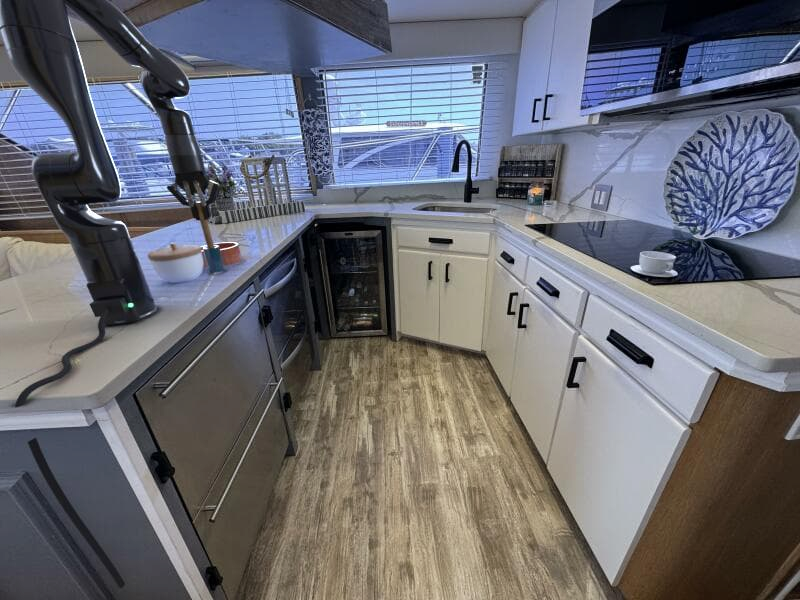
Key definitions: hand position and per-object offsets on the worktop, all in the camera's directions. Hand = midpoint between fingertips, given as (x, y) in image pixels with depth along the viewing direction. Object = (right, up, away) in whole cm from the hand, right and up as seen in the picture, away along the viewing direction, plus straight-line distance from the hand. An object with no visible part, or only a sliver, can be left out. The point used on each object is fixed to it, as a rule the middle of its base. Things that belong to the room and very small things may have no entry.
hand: (203, 219), depth 93 cm
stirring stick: (0, -12, +5) cm, 13 cm away
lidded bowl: (-5, -18, 0) cm, 19 cm away
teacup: (+124, -16, -9) cm, 125 cm away
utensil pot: (0, -15, +6) cm, 16 cm away
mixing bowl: (-3, -11, +15) cm, 19 cm away
